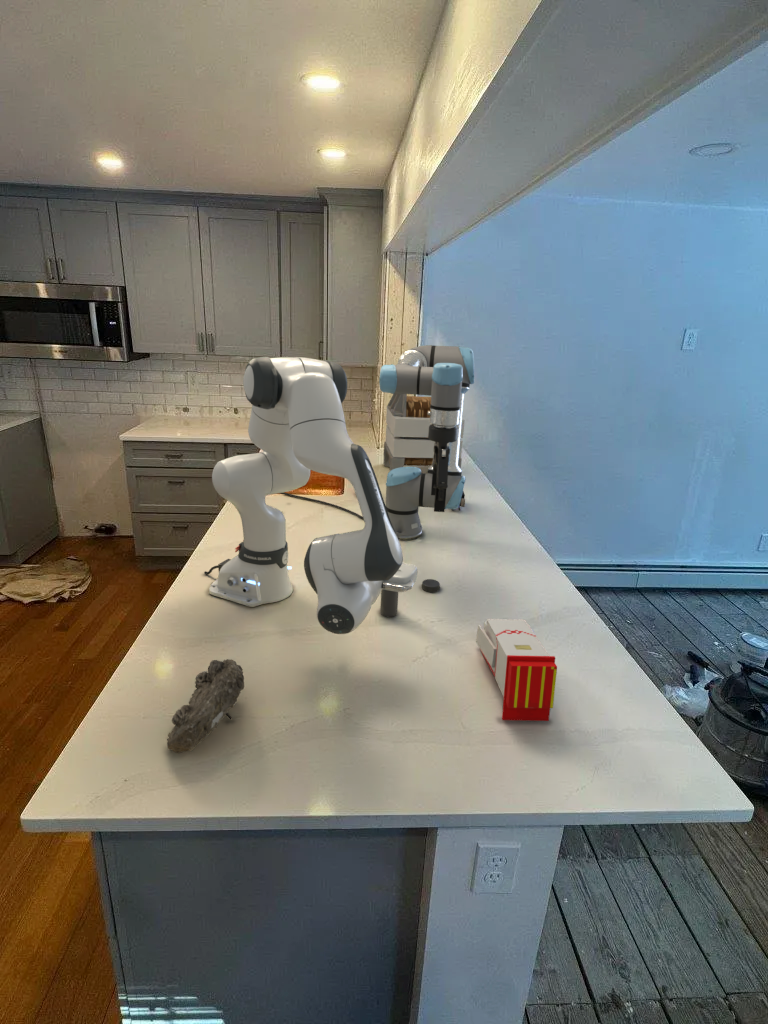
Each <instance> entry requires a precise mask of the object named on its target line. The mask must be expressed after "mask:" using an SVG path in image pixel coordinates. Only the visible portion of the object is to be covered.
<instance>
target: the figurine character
mask: <svg viewBox="0 0 768 1024" xmlns="http://www.w3.org/2000/svg"><path fill="white" fill-rule="evenodd" d="M465 496H466V494H465V492H464V490H463V493H462V497H461V501H460V505H459V507H458V508H457V509H458V511H461V510H462V509H461V508H465V505H466V497H465ZM451 511H454V509H451Z"/></svg>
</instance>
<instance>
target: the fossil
mask: <svg viewBox="0 0 768 1024" xmlns="http://www.w3.org/2000/svg"><path fill="white" fill-rule="evenodd" d="M243 670H244V669H243V667H242V665H240V664H237V662H236V661H235V660H234V659H232V658H231V659H227V658H226V659H224V660H223V661H222V660H217V659H212V660H211V661H210V663H209V665H208V666H207V671H201V672H199V673H198V674H197V675H196V676H195V680H194V684H195V685H194V687H195V689H194V690H193V693H192V694H191V697H190V698H189V700H188V704H184V705H182V706H181V707H180V709H177V710H176V711H175V713H174V715H173V716H172V718H171V723H172V724H173V727H172V730H171V731H170V732H168V734H167V738H166V741H167V742H166V745H167V749H168V750H169V751H173V752H174V753H176V754H178V753H182V752H188V751H189V752H192V751H193V750H195V748H196V747H197V746H199V744H200V743H201V742H203V741H204V740H205V739H206V738H207V737H208V736H209V735H210V734H211V733H212V732H214V730H215V729H217V727H218V726H219V724H220V722H221V721H222V720H223V719H224V718H225V716H226V717H227V719H229V720H233V717H232V715H230V714H229V710H230V709H231V708H234V706H235V704H236V703H237V702H238V699H239V697H240V695H241V693H242V691H243V690H245V689H244V688H245V675H244V671H243Z"/></svg>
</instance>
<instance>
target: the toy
mask: <svg viewBox="0 0 768 1024" xmlns="http://www.w3.org/2000/svg"><path fill="white" fill-rule="evenodd" d="M476 629H477V631H476V638H475V642H476V645H477V646H478V648H479V650H480V652H481V654H482V656H483V658H484V660H485V661H486V664H487V666H488V668H489V669H490V671H491V672H492V675H493V676H494V679H495V681H496V685H497V686H498V688H499V690H500V692H501V695H502V697H503V701H502V712H501V720H502V721H521V722H523V721H526V722H528V721H529V722H550V712H551V709H554V702H555V692H556V681H557V673H558V665H557V664H556V656H555V655H550V654H549V652H548V651H547V650H546V648H545V647H544V645H543V644H542V642H541V641H540V639H539V638H538V637H537V635H536V634H535V632H534V631H533V629H532V627H531V625H530V624H528V623H527V621H526V619H521V618H518V619H515V618H513V619H512V618H486V620H484V621H483V626H482V625H481V624H477V628H476Z"/></svg>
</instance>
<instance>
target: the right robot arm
mask: <svg viewBox="0 0 768 1024" xmlns="http://www.w3.org/2000/svg"><path fill="white" fill-rule="evenodd" d="M473 384H475V358H474V351H473V349H472V348H471V347H466V346H459V345H458V346H455V345H432V344H425V345H419V346H415V347H412V348H410V349H407V350H406V351H404V352H402V354H401V355H400V356H399V358H398V360H397V364H393V363H391V364H382V365H381V367H380V371H379V390H380V392H381V393H385V394H386V393H387V394H391V395H393V394H394V393H397V394H407V395H417V396H427V397H431V406H430V410H431V411H430V412H428V415H430V421H429V422H430V423H431V425H430V426H429V432H428V438H429V440H431V441H434V454H433V464H432V465H430V466H428V468H427V472H426V473H425V472H422V469H421V468H420V467H419V466H418V467H417V466H404V467H400V468H396V469H393V470H391V471H390V470H389V471H388V473H387V475H386V482H385V506H386V509H387V512H388V515H389V518H390V521H391V523H392V526H393V528H394V530H395V532H396V535H397V537H398V540H399V541H410V540H415V539H418V538H420V537H421V536H422V535H423V525H422V524H421V518H420V515H419V508H420V507H421V508H431V509H433V512H434V513H445V511H446V510H452V509H453V510H456V509H458V507H459V505H460V501H461V497H462V493H463V491H464V487H465V483H466V477H465V475H463V474H462V472H463V470H462V468H461V469H460V468H459V467H458V458H459V447H460V439H461V438H460V436H461V425H462V419H463V414H464V413H463V412H464V402H465V401H464V400H465V394H466V393H467V392H468V391H470V386H471V385H473ZM280 494H281V495H283V496H288V497H293V498H297V499H300V500H307V501H311V502H315V503H320V504H324V505H326V506H329V507H333V508H336V509H340V510H342V511H345V512H347V513H350V514H352V515H354V516H356V517H358V518H359V519H362V520H364V519H363V515H360V514H359V513H356V512H355V511H352V510H350V509H348V508H345V507H342V506H340V505H337V504H334V503H330V502H327V501H323V500H319V499H316V498H310V497H305V496H301V495H297V494H292V493H289V492H283V493H279V495H280Z"/></svg>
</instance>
